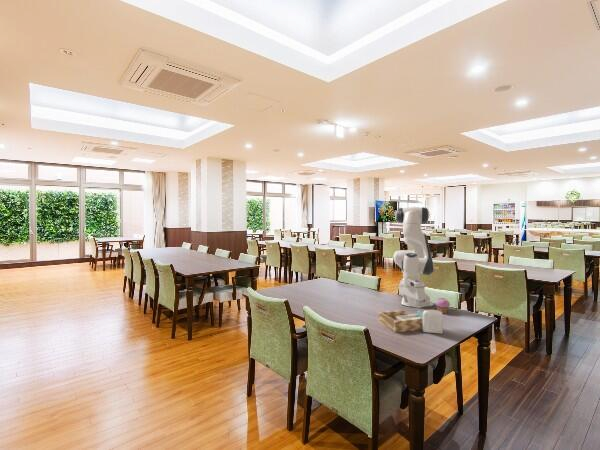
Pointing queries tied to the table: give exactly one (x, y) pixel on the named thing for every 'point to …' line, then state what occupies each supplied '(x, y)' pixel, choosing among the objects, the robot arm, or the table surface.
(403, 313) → the woven basket
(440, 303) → the cupcake
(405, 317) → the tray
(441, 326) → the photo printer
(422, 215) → the robot arm
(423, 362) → the table surface
